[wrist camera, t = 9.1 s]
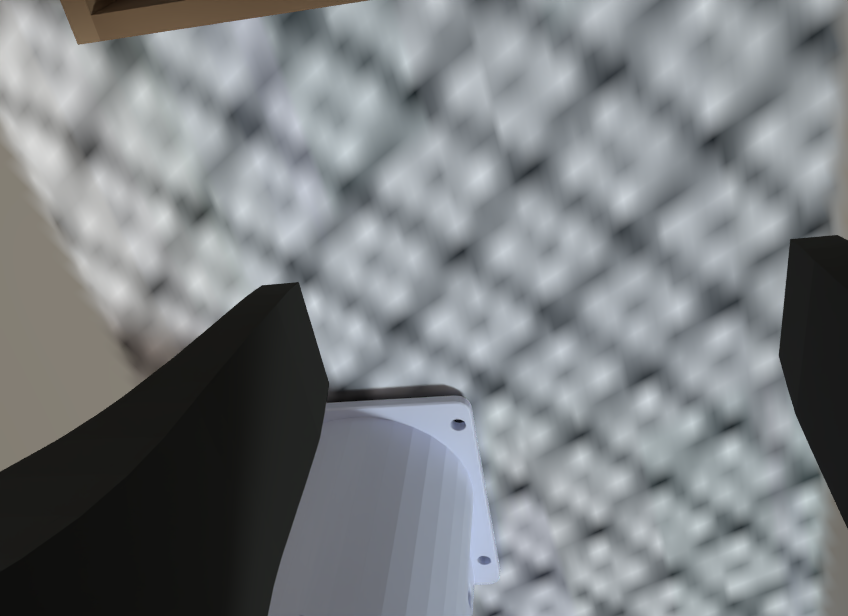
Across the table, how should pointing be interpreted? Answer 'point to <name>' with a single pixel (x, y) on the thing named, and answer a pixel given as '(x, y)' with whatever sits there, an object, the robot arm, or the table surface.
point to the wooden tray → (169, 14)
